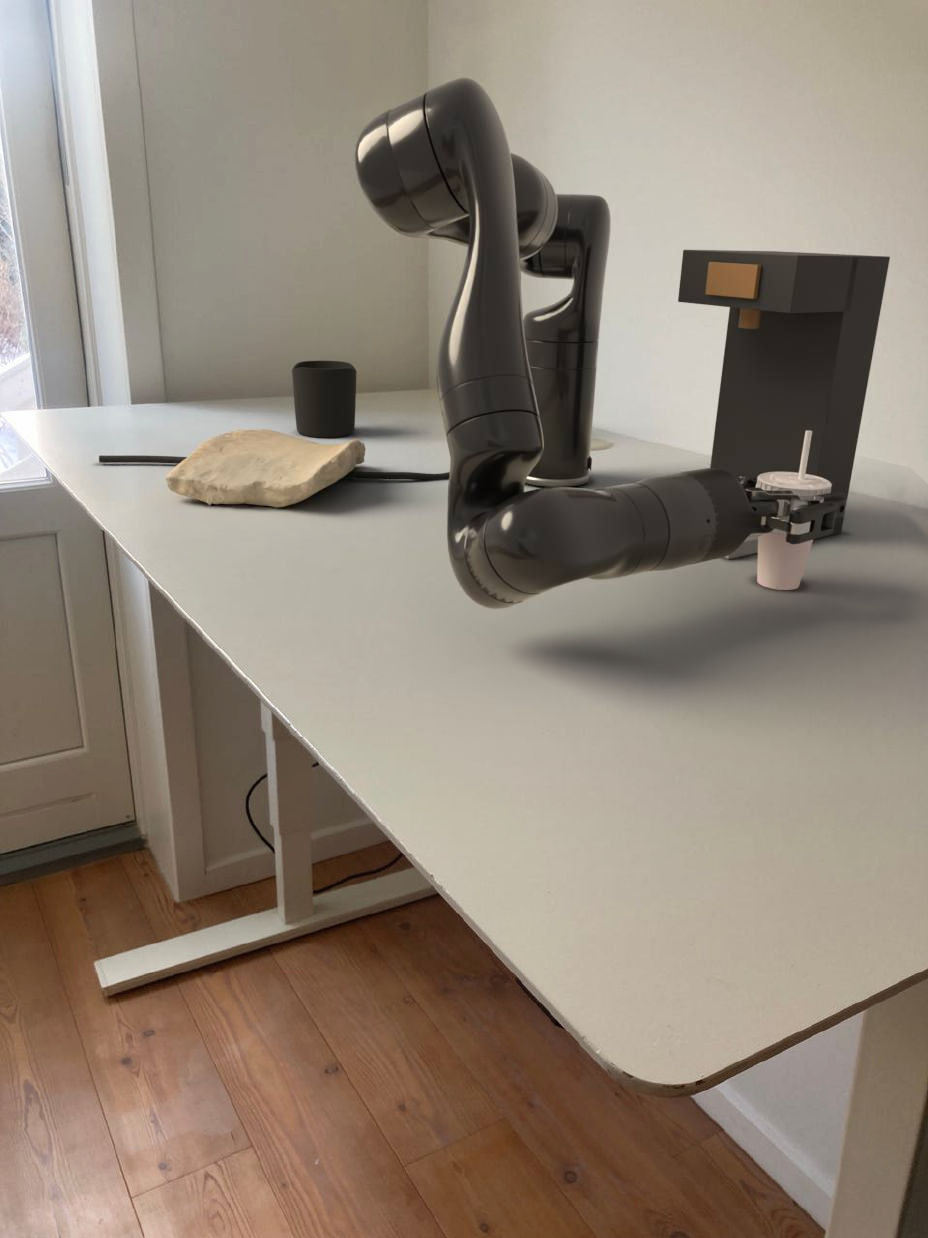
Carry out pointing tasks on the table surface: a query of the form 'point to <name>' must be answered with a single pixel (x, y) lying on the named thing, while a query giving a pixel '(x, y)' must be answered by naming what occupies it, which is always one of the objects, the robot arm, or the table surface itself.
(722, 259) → the coffee maker
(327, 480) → the beige stone slab
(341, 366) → the pen holder
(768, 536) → the smoothie
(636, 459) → the table surface
